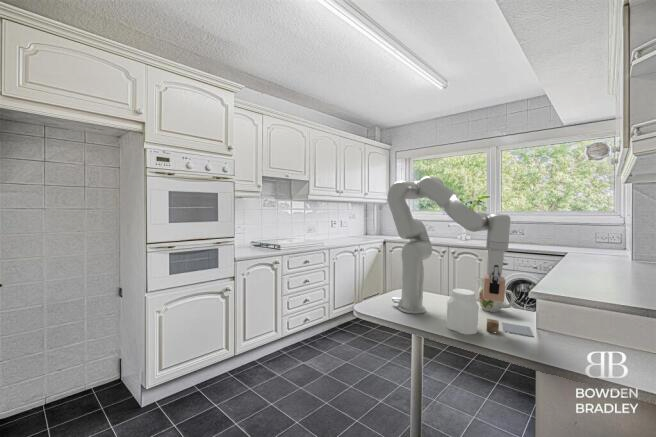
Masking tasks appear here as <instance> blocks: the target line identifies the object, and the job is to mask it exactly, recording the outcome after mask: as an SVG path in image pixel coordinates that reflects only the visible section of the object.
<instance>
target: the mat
mask: <svg viewBox="0 0 656 437" xmlns="http://www.w3.org/2000/svg"><path fill="white" fill-rule="evenodd" d="M502 325H503V326H502ZM501 326H502V330H503V332H504V331H505V332H504V333H507V332H509V334H513V333H514V334H513V335H518V334H519V335H520V336H525V337H531V338H534V333H533V331H532V329H531V327H530V326H527V325H521V324H520V325H519V324H515V323H509V322H501Z"/></svg>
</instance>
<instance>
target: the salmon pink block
mask: <svg viewBox="0 0 656 437" xmlns="http://www.w3.org/2000/svg"><path fill="white" fill-rule="evenodd" d="M483 277H484V278H483V279H484V286H483V299H489V300H495V301H501V302H503V303H504V301H505V293H504V292H505V290H506V278H505V276H501V277H499V294H492V293H489V288H490V283H491V275H487V274H484V276H483Z"/></svg>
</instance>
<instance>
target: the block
mask: <svg viewBox="0 0 656 437" xmlns="http://www.w3.org/2000/svg"><path fill="white" fill-rule="evenodd" d="M499 326H500V322H499V320H498V319H492V318H491V319H490V318H486V327H487V329H486V332H487V331H489V332H488V333H491V332H496V333H495V334H497V333H498V334H499Z"/></svg>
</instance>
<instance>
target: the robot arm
mask: <svg viewBox="0 0 656 437" xmlns="http://www.w3.org/2000/svg"><path fill="white" fill-rule="evenodd" d="M386 198H387V204H388V207H389V210H390V213H391V215H392V218H393V222H394V225H395V229H396V231H397V235H398V236H399V237H400V238H401V239H403V240H409V242H407V243H405V244H404V246H403V247H402V249H401V252H400V254H401V262H402V264H401V265H402V274H401V275H402V277H401V281H402V282H401V297H392V300H391V301H392V302H393V303H394V304H397V309H398V310H399V311H400V312H403V313H406V314H414V315H417V314H418V315H420V314H424V313H426V311H427V308H426V307H425V305H423V299H424V279H425V276H424V275H425V271H424V270H425V269H424V262H423V261H425V260H427V259H429V258H430V257H431V256H432V254H433V247H432V246H433V245H432V243H431V242H432V241H431V240H430V239H431V238H429V235H428V230H427V229H426V225H424V223H423V221H421V219H417V218H413V215H412V211H411V208H410V207H409V205H408V204H407V202H406V200H417V199H418V200H419V199H426V198H427V199H429V200H430V201H431V202H433V203H434V204H436V205H437V206H438V207H439V208H441V209H442V210H443V212H444V213H446V215H447V216H448V217H449V218H450V219H452V221H454V222H455V223H456V224H458V225H459V226H461V227H462V228H463V229H464V230H467V231H468V232H472V233H475V232H483V231H487V232H486V243H485V244H486V245H485V247H486V248H485V249H486V250H488V253H487V264H486V275H491V283H490V288H489V293H492V294H499V277H502V274H503V270H504V268H503V267H504V260H505V252H508V251H509V242H510V231H511V230H510V229H511V217H510V215H508V214H502V213H501V214H500V213H492V214H491V213H485V212H476V211H474V210H473V209H471V208H470V207H468V206H467V205H465V203H463V202H462V201H461V200H460V198H459V194H457V192H456V191H454V190H452V189H451V188H449V187H448V186H447V185H445V183H444V181H443V180H442V179H441V178H440V177H435V176H429V175H427V176H424V177H422V178H421V179H420V180H417V181H411V180H410V181H409V180H397V181H395V182H394V183H393V184H391V186H390V187H389V189H388V191H387V196H386Z"/></svg>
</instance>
